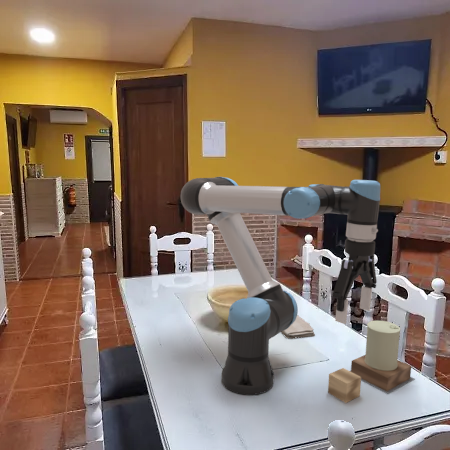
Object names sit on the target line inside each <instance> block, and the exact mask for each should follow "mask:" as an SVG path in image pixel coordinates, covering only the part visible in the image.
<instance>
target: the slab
mask: <svg viewBox="0 0 450 450" xmlns="http://www.w3.org/2000/svg"><path fill="white" fill-rule="evenodd" d="M365 355H366V354H364V355H362V356H360V357H356V358H355V359H352V360H351V366H350V371H351V372H352V373H354V374H356V375H358V376H360V377H361V379H363V380H365V381H367V382H369V383H371V384H373V385H375V386H377V387H379V388H381V389H383V390H385V391H388V390H390V389H392V388H394V387H396V386H397V385H399V384H401V383H403V382H405V381H406V380H408V379H410V377H411V372H412V365H410V364H408V363H406V362H403V361H401V360H399V359H398V360H397V364H398V367H397V368H396V369H395V370H391V371H382V370H377V369H374V368H372V367H370V366H368V365H367V364H366V363H365Z"/></svg>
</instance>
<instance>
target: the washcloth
mask: <svg viewBox="0 0 450 450" xmlns="http://www.w3.org/2000/svg"><path fill="white" fill-rule="evenodd" d="M314 330H315V329H314V328H313V327H312V326H311V324H310V323H309V322H307V321H306V320H305V319H303V318H302V317H301V316H299V315H298V314H297V317H296V320H295V321H294V323H293V324H292V325H290V327H289V328H287V329H286V330H284V331H281V332H280V333H281V334H282V335H283V334H284V335H285V336H286V337H287V338H288V339H293V338H294V339H302V338H308V337H309V338H310V337H315V335H316V334H315V332H314ZM284 335H283V336H284ZM285 336H284V337H285ZM286 337H285V338H286ZM295 337H297V338H295ZM298 337H299V338H298ZM301 337H302V338H301ZM287 338H286V339H287Z"/></svg>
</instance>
